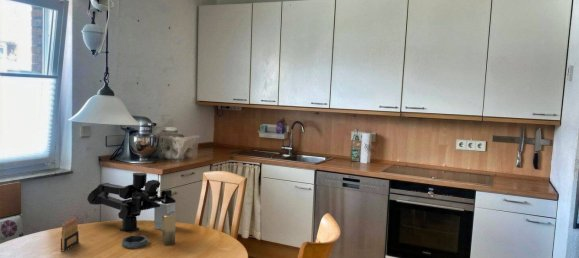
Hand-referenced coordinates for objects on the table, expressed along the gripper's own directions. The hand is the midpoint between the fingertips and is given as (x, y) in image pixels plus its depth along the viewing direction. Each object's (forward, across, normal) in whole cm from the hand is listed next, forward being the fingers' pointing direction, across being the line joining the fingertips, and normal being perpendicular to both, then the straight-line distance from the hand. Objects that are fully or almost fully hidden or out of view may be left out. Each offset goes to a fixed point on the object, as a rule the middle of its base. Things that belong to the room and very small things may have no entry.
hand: (167, 203), depth 192 cm
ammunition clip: (-26, -29, +19) cm, 43 cm away
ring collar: (-6, -12, +17) cm, 22 cm away
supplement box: (-13, +12, +18) cm, 25 cm away
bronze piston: (+5, -3, +16) cm, 17 cm away
